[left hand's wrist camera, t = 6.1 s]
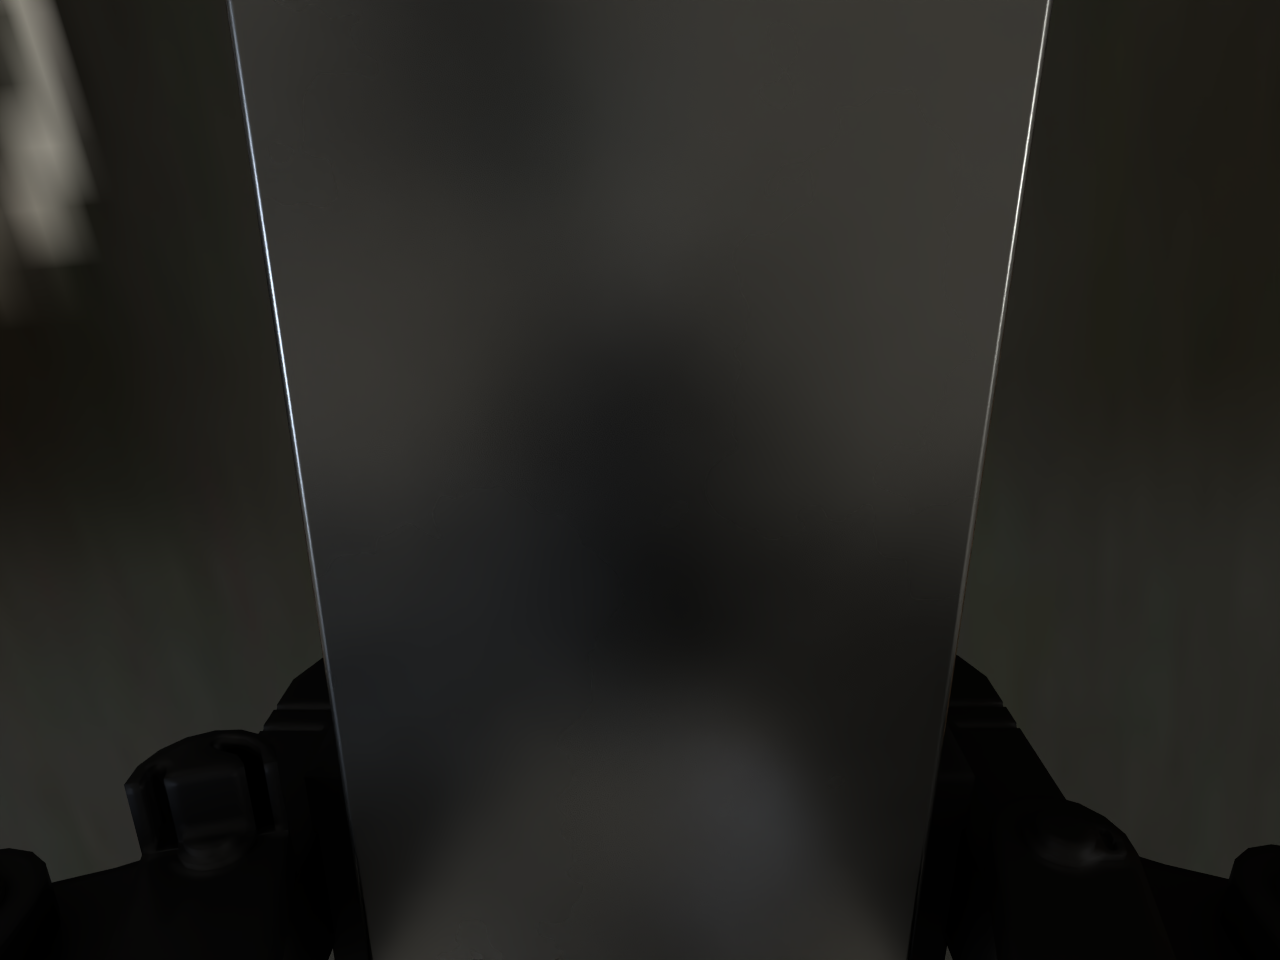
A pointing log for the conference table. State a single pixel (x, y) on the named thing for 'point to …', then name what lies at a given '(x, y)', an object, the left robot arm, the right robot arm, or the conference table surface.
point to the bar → (639, 446)
